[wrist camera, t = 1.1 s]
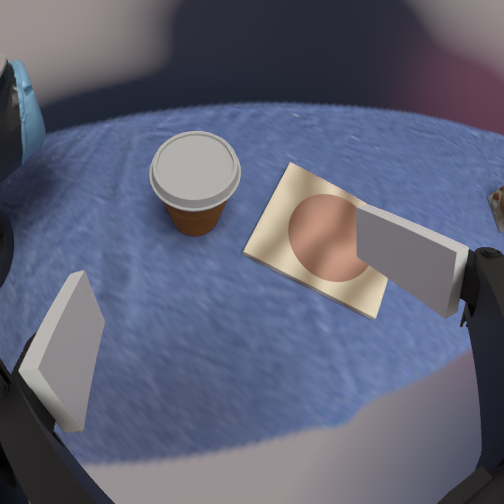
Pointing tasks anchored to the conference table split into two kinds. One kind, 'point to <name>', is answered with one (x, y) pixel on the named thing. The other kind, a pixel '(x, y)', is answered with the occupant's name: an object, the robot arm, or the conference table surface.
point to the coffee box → (498, 207)
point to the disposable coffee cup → (195, 179)
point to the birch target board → (316, 241)
